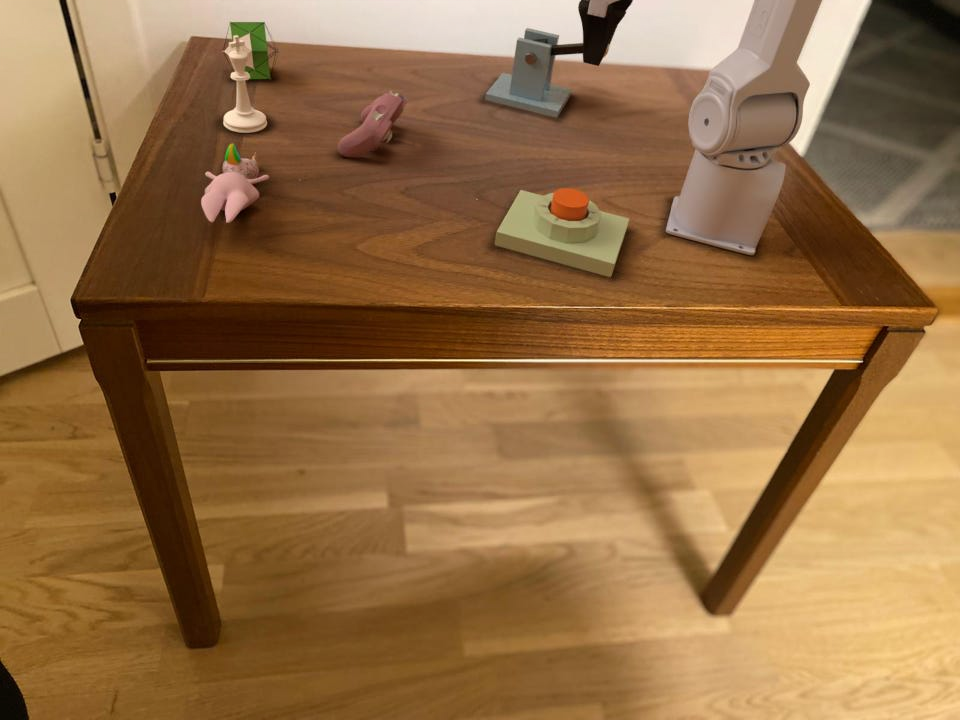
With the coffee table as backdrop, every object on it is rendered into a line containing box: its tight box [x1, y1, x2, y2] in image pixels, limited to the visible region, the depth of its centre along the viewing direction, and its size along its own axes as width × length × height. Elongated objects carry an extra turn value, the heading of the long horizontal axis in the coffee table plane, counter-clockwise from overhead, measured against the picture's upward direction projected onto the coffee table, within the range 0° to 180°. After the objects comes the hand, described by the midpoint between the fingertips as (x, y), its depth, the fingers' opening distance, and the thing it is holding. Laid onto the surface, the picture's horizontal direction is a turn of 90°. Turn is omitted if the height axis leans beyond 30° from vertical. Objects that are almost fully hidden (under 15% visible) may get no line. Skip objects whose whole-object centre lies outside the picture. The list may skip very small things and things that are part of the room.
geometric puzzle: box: [221, 21, 280, 80], centre depth 94 cm, size 7×7×8 cm
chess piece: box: [222, 35, 268, 134], centre depth 84 cm, size 5×5×10 cm
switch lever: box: [532, 39, 610, 59], centre depth 95 cm, size 11×3×3 cm, turn 72°
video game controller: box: [337, 89, 408, 158], centre depth 85 cm, size 10×5×7 cm, turn 168°
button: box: [550, 187, 590, 221], centre depth 74 cm, size 4×4×2 cm
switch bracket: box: [484, 27, 572, 118], centre depth 98 cm, size 10×8×8 cm
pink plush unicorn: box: [200, 143, 270, 224], centre depth 73 cm, size 6×6×15 cm
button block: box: [494, 189, 630, 278], centre depth 76 cm, size 12×9×4 cm
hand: (594, 58), depth 95 cm, fingers closed on switch lever, 3 cm apart
